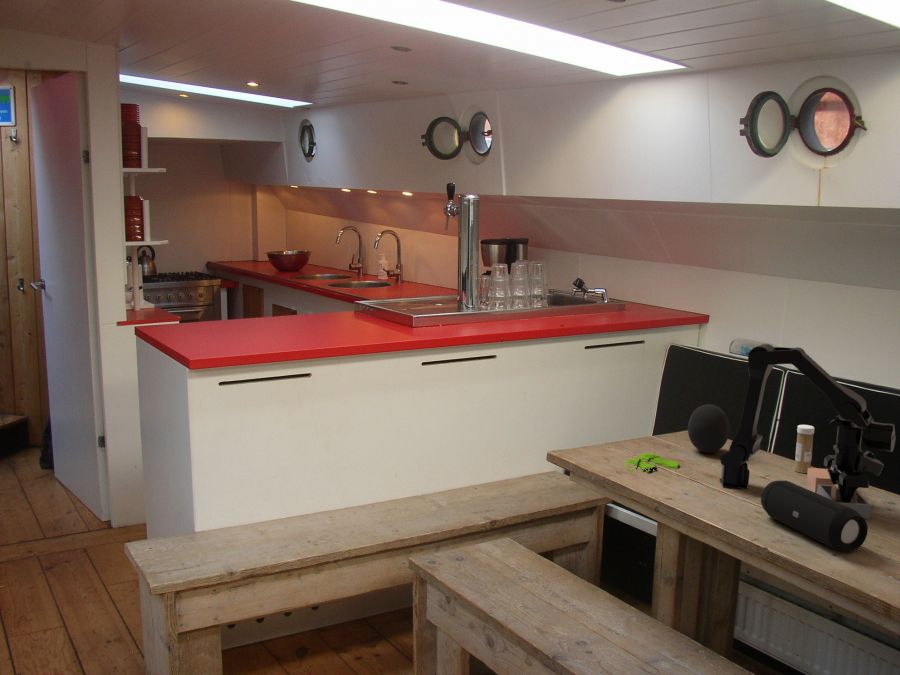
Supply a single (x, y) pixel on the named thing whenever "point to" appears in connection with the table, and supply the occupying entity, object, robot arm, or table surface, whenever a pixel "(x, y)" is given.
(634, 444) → the table surface
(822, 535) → the portable speaker
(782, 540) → the table surface
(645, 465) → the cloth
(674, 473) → the table surface
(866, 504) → the charcoal bin
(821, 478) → the terracotta stand
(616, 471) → the table surface
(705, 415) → the decorative egg
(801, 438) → the sprinkles bottle
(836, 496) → the walnut box
